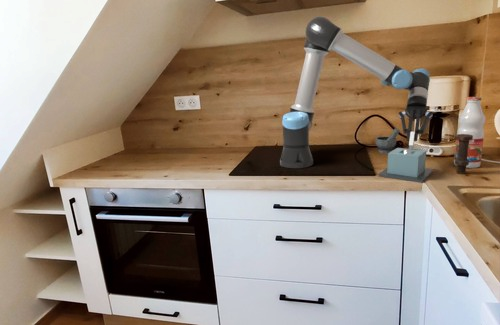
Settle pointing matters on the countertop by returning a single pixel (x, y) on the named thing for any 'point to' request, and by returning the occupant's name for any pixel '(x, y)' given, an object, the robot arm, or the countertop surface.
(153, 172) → the countertop surface
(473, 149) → the fruit juice
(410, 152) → the pipe stand
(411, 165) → the sleeve
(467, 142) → the bolt
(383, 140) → the mortar and pestle
